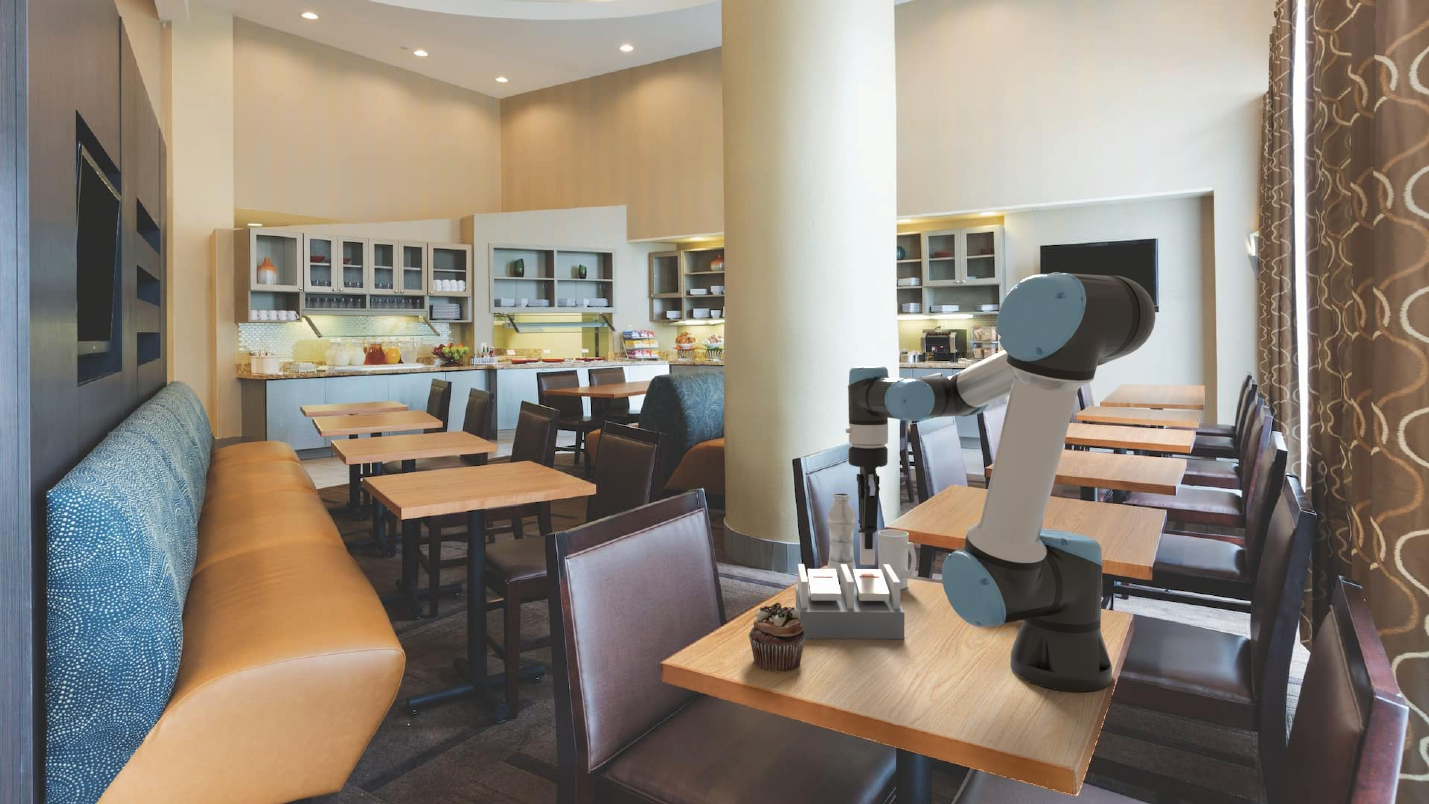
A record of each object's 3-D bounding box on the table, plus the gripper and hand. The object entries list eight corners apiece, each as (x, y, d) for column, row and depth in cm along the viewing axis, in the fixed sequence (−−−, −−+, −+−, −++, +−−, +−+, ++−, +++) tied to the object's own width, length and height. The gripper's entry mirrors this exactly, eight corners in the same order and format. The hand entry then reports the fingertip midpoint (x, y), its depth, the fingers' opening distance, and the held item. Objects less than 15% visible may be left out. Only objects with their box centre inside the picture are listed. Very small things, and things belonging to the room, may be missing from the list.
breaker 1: (840, 600, 145) (840, 592, 144) (811, 600, 145) (811, 592, 145) (835, 576, 155) (835, 568, 154) (807, 576, 155) (807, 568, 154)
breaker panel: (904, 639, 142) (904, 585, 141) (800, 638, 143) (799, 585, 142) (889, 609, 157) (889, 561, 157) (795, 609, 159) (795, 561, 158)
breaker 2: (889, 600, 144) (889, 592, 144) (859, 600, 145) (859, 592, 144) (880, 576, 154) (881, 568, 154) (852, 576, 154) (853, 568, 154)
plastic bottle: (835, 586, 174) (834, 498, 172) (822, 577, 180) (822, 492, 179) (861, 583, 175) (861, 496, 174) (847, 575, 182) (847, 491, 181)
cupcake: (815, 658, 133) (814, 601, 133) (789, 678, 125) (788, 618, 125) (766, 647, 139) (765, 592, 138) (738, 666, 130) (737, 608, 130)
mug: (871, 584, 175) (871, 532, 174) (892, 579, 178) (892, 528, 177) (904, 596, 166) (904, 541, 165) (926, 590, 170) (926, 536, 169)
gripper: (844, 441, 158) (844, 554, 159) (852, 449, 145) (852, 573, 146) (882, 441, 157) (881, 555, 159) (893, 449, 144) (892, 573, 146)
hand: (867, 563), depth 153 cm, fingers closed
